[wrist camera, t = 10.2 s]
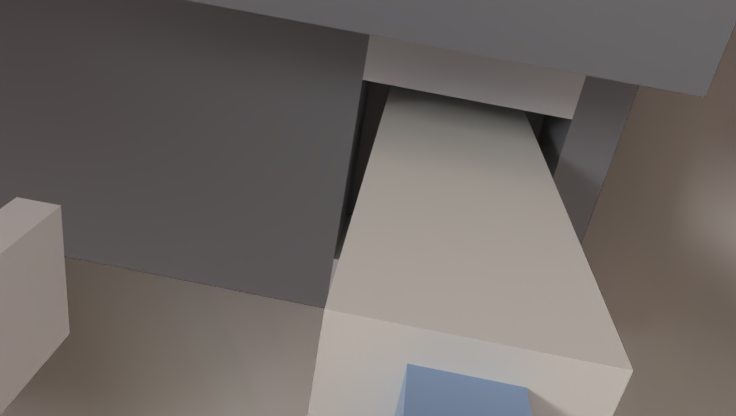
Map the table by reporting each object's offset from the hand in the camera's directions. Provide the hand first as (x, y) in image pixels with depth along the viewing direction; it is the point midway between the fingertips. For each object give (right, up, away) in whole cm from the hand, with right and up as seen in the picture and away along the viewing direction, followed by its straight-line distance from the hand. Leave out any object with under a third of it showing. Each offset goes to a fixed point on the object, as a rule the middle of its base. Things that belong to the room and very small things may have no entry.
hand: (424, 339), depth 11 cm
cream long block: (+1, +4, +9) cm, 10 cm away
